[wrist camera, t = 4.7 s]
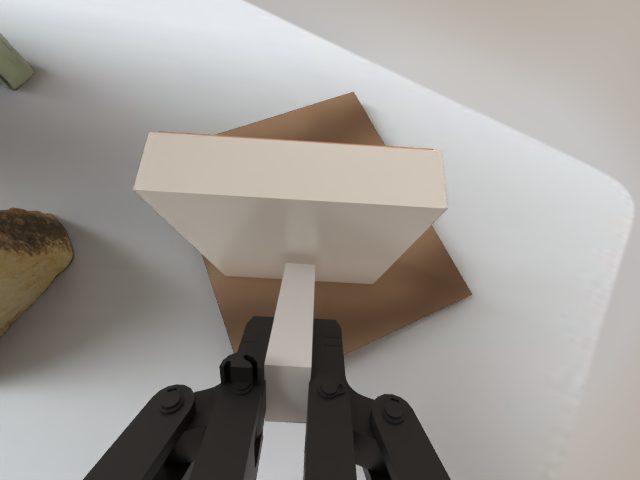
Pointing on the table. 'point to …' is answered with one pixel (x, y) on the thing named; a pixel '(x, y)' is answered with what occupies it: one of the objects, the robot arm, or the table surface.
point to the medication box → (12, 66)
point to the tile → (292, 201)
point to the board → (336, 297)
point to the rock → (28, 259)
